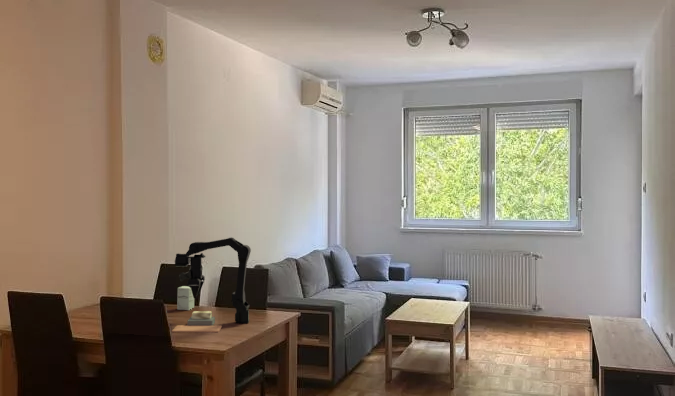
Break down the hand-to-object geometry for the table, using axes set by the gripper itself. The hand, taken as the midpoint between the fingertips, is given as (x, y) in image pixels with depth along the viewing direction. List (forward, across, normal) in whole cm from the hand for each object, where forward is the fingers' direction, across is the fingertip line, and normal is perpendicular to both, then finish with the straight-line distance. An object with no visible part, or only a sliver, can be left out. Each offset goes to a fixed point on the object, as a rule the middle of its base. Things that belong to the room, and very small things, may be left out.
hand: (196, 296), depth 316 cm
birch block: (+8, +6, +4) cm, 11 cm away
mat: (+13, +19, +4) cm, 23 cm away
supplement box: (+13, -34, -12) cm, 38 cm away
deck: (+13, +8, +4) cm, 15 cm away
